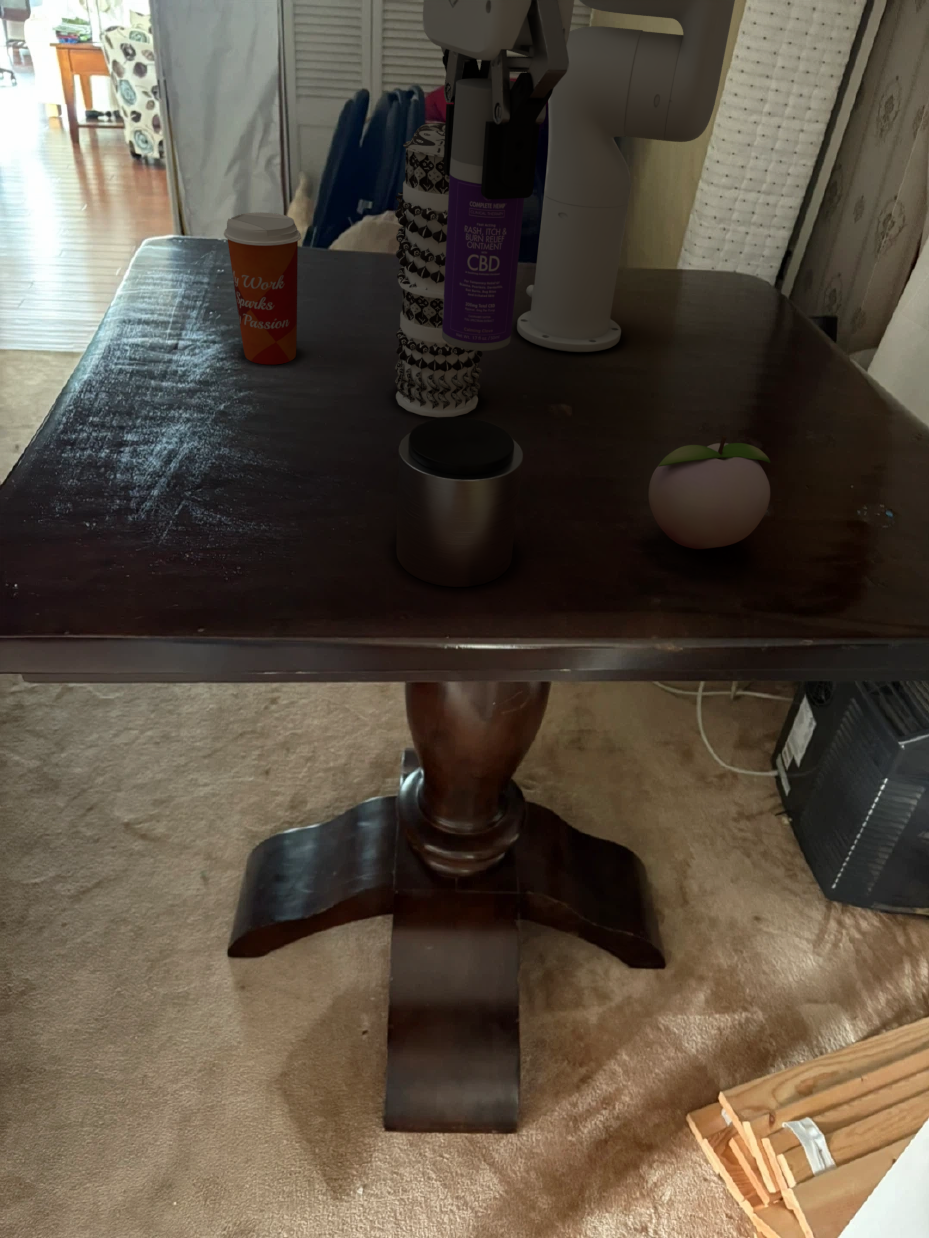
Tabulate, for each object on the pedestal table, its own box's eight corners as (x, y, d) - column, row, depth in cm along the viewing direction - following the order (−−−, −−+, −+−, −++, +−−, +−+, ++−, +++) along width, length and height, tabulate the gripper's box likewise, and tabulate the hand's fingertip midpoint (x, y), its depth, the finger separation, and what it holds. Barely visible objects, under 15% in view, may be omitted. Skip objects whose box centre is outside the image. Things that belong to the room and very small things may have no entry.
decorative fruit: (678, 589, 70) (707, 472, 64) (622, 534, 76) (644, 422, 70) (776, 567, 73) (813, 454, 67) (715, 516, 79) (744, 408, 73)
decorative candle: (373, 397, 94) (374, 123, 79) (436, 374, 100) (448, 115, 85) (436, 427, 89) (451, 143, 74) (499, 402, 95) (524, 133, 80)
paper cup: (220, 359, 99) (207, 223, 91) (259, 337, 105) (249, 207, 97) (283, 374, 97) (275, 236, 89) (319, 350, 103) (315, 219, 94)
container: (461, 354, 60) (477, 91, 51) (430, 330, 63) (440, 78, 54) (523, 346, 62) (550, 90, 52) (489, 322, 65) (509, 77, 56)
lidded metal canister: (379, 535, 73) (380, 421, 67) (481, 516, 77) (490, 406, 71) (422, 597, 67) (427, 478, 61) (531, 574, 70) (546, 459, 64)
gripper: (383, -210, 50) (380, 158, 61) (527, -236, 38) (491, 227, 49) (506, -194, 53) (482, 155, 64) (676, -214, 41) (611, 220, 52)
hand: (486, 183), depth 56 cm, fingers closed on container, 4 cm apart
